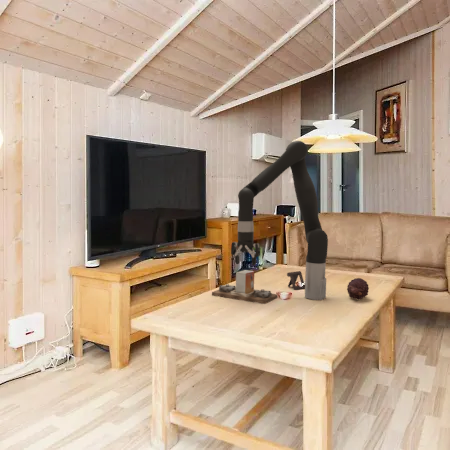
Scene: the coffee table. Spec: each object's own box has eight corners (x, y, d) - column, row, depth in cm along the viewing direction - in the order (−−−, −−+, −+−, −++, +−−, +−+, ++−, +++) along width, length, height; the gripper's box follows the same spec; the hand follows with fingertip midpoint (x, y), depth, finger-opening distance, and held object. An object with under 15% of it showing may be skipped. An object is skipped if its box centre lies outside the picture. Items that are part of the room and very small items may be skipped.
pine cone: (347, 293, 214) (348, 273, 213) (368, 295, 211) (369, 275, 210) (345, 302, 197) (346, 280, 197) (368, 304, 194) (369, 282, 193)
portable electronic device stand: (295, 290, 219) (296, 274, 218) (284, 287, 225) (285, 271, 225) (307, 288, 224) (307, 272, 223) (296, 285, 230) (297, 270, 230)
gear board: (277, 297, 203) (277, 288, 203) (264, 303, 191) (265, 294, 191) (226, 289, 217) (226, 281, 217) (211, 295, 205) (212, 286, 205)
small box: (244, 295, 199) (245, 273, 198) (235, 293, 202) (235, 272, 202) (254, 292, 205) (254, 271, 205) (244, 290, 209) (245, 269, 208)
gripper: (262, 230, 201) (262, 264, 202) (236, 229, 208) (236, 262, 210) (255, 232, 195) (255, 267, 196) (228, 230, 202) (228, 264, 203)
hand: (245, 264), depth 203 cm, fingers open, 8 cm apart
